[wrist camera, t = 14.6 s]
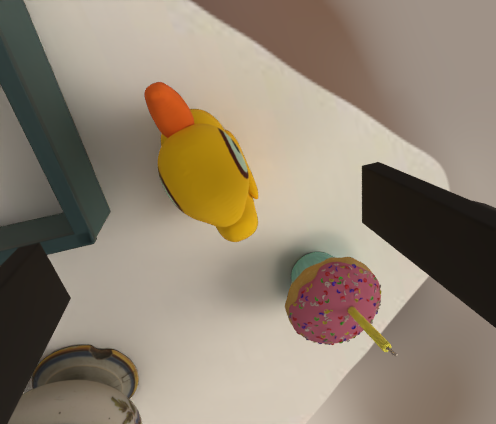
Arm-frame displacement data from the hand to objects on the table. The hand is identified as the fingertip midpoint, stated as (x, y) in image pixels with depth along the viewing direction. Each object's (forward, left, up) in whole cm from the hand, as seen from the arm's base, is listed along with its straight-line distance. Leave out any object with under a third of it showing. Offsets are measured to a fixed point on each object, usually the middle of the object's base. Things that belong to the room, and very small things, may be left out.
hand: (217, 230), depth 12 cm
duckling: (0, 0, -13) cm, 13 cm away
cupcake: (+8, -14, -13) cm, 21 cm away
